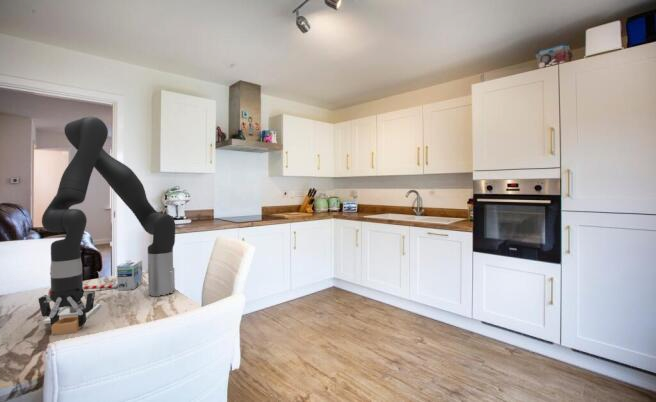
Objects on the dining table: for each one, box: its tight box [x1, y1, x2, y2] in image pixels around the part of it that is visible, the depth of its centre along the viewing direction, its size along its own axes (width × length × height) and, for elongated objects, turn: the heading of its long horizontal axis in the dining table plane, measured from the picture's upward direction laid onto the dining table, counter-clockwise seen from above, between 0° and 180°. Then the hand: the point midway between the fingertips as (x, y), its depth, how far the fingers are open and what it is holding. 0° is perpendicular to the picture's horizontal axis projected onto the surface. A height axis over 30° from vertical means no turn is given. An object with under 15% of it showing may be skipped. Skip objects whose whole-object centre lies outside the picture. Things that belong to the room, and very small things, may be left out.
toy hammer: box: [47, 283, 118, 295], centre depth 132 cm, size 23×12×6 cm, turn 118°
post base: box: [42, 302, 102, 325], centre depth 108 cm, size 12×12×8 cm
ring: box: [51, 316, 86, 336], centre depth 97 cm, size 6×6×3 cm
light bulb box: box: [116, 259, 144, 292], centre depth 139 cm, size 11×7×11 cm, turn 13°
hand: (68, 326), depth 97 cm, fingers closed on ring, 6 cm apart
